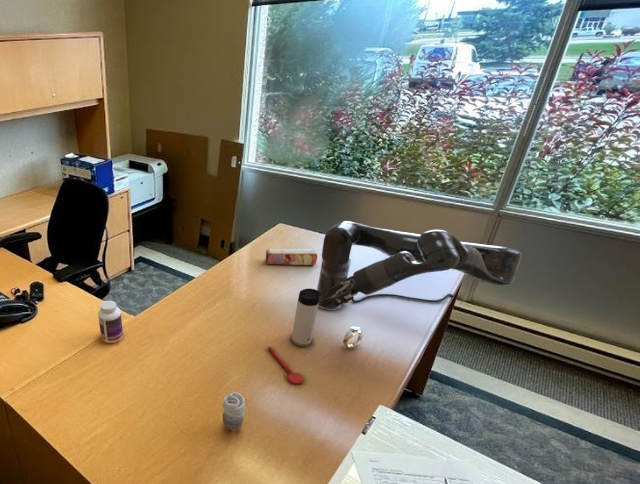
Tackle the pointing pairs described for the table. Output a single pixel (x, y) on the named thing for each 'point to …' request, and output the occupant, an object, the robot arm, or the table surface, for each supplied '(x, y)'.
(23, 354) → the table surface
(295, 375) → the spoon
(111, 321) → the pill bottle
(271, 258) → the snack package
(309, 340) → the travel mug
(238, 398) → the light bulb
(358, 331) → the ring
